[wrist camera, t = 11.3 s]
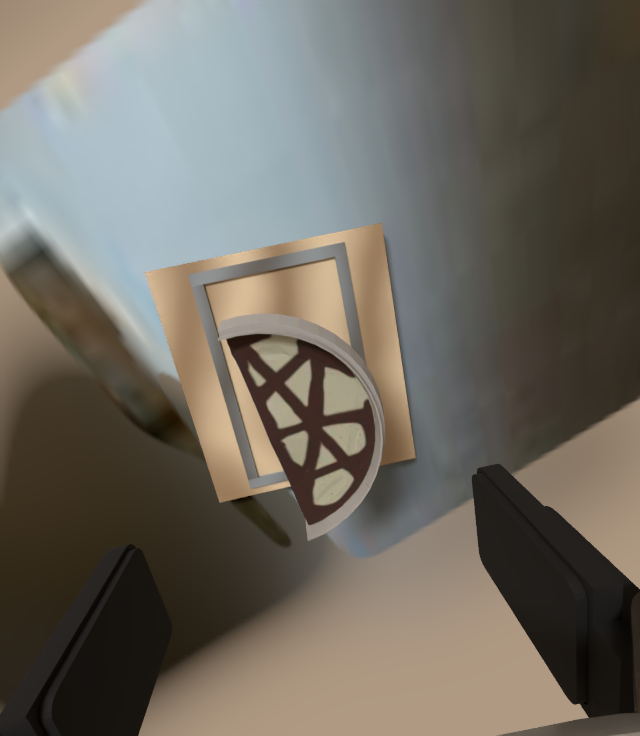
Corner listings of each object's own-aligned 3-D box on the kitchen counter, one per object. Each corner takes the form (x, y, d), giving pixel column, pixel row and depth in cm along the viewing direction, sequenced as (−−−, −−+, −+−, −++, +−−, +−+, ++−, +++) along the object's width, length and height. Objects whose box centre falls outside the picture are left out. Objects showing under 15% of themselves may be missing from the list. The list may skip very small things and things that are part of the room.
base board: (376, 225, 26) (382, 222, 24) (409, 449, 31) (416, 459, 29) (152, 272, 26) (143, 272, 24) (222, 491, 31) (219, 504, 29)
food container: (377, 427, 29) (423, 508, 19) (303, 454, 29) (311, 549, 19) (324, 273, 25) (347, 277, 16) (240, 304, 25) (212, 328, 16)
